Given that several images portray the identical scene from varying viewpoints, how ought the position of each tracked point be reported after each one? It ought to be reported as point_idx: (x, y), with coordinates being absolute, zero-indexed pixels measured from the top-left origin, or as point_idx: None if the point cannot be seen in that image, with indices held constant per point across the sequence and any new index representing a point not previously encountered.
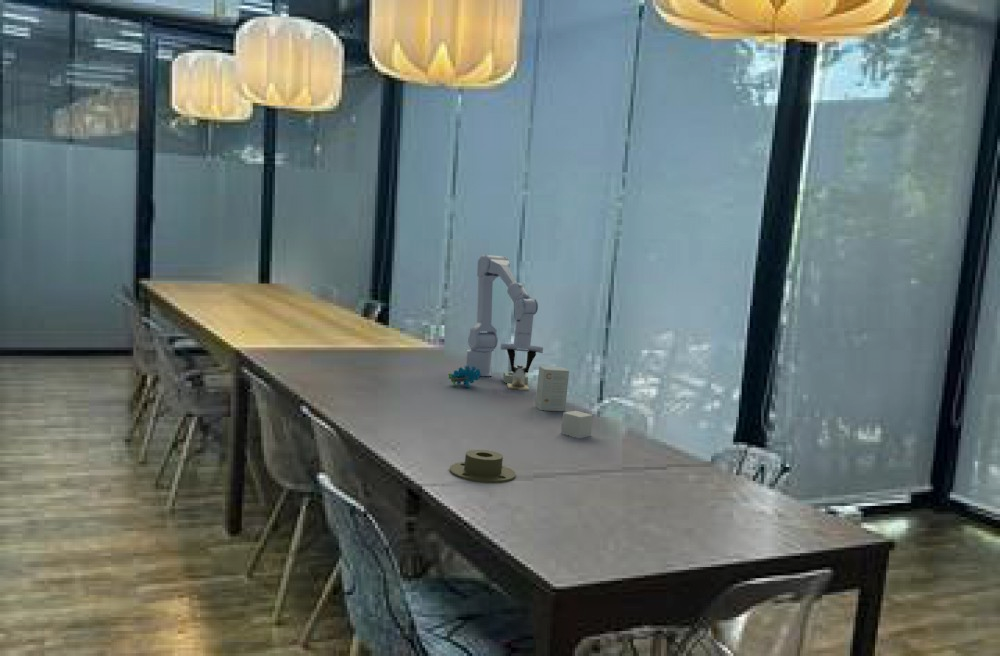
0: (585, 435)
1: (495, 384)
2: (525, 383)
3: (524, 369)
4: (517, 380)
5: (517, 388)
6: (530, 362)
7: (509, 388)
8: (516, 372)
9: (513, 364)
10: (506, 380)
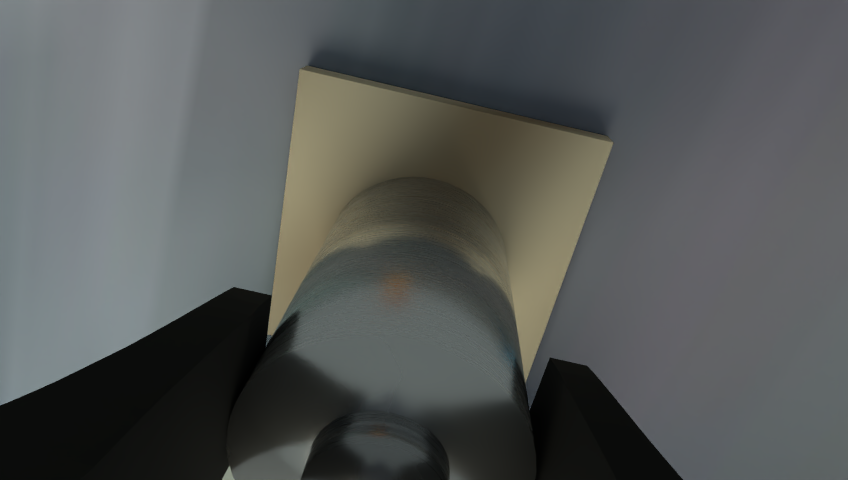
0: None
1: (667, 390)
2: None
3: (297, 337)
4: (459, 226)
5: (477, 109)
6: (23, 417)
7: (595, 136)
8: (491, 319)
9: (621, 465)
10: None
